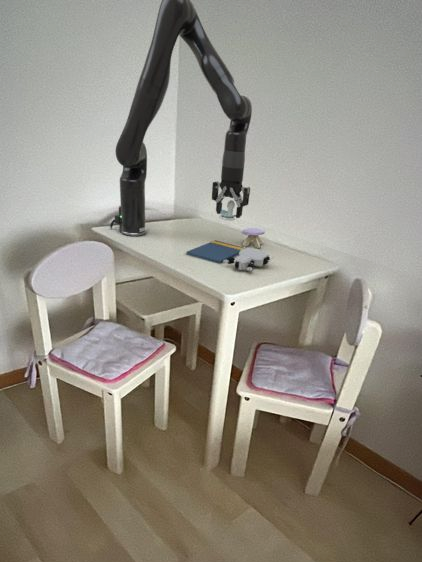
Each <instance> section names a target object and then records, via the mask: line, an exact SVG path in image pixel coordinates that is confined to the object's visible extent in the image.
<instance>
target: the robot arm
mask: <svg viewBox="0 0 422 562" xmlns="http://www.w3.org/2000/svg"><path fill="white" fill-rule="evenodd" d="M155 22H156V23H155V26H154V30H153V34H152V39H151V42H150V46H149V49H148V51H147V54H146V58H145V60H144V63H143V67H142V70H141V73H140V76H139V79H138V82H137V85H136V88H135V92H134V95H133V98H132V102H131V104H130V109H129V112H128V116H127V119H126V122H125V124H124V126H123V129H122V131H121V134H120V135H119V138H118V141H117V142H116V145H115V159H116V161H117V162H118V163H119V165H121V166H122V171H121V175H120V177H119V198H120V199H119V201H120V205H119V206H118V214H116V215H114V219H112V221H111V222H110V225H109V228H110V229H112V228H113V225H114V224H116V225H119V227H118V228H119V232H120V233H121V234H122V235H126V236H129V237H141V236H144V235H146V231H147V230H146V180H147V175H148V174H147V173H148V172H147V171H148V153H147V147H146V144H145V142H144V139H145V137H146V133H147V131H148V129H149V127H150V126H151V124H152V123H153V121H154V119H155V118H156V116H157V114H158V113H159V111H160V109H161V107H162V104H163V102H164V100H165V97H166V94H167V91H168V88H169V85H170V78H171V64H172V56H173V52H174V48H175V45H176V43H177V41H178V38H179V37H180V38H181V39H182V40H183V41H184V43H185V44H186V45H187V46H188V47H189V49H190V50H191V52H192V54H193V55H194V58H195V59H196V62H197V64H198V67H199V69H200V72H201V73H202V75H203V77H204V79H205V80H206V82H207V84H208V85H209V86H210V88H211V90H212V91H213V93H214V94H215V95H216V98H217V100H218V103H219V105H220V108H221V109H222V111H223V113H224V115H225V116H226V117H227V119H229V120H230V121H229V127H228V130H226V132H225V136H224V144H223V145H224V147H223V153H222V160H221V174H220V182H219V181H218V180H217V181H213V182H212V186H211V187H212V188H211V200H212V201H215V202H216V205H215V212H216V214H218V215H222V214H221V210H223V200H224V199H225V198H230V199H233V201H234V202H235V205H236V211H235V215H236V217H235V218H236V219H240V218H241V217H242V215H243V208H244V207H246V206H248V205H249V202H250V194H251V188H250V186H247V187H245V186H243V180H244V172H245V163H246V146H247V145H246V144H247V135H248V131H249V128H250V124H251V120H252V112H253V107H252V102H251V100H250V99H249V97H248V96H245V95H241V94H240V92H239V90H238V88H237V87H236V85H235V79H234V77H233V75H232V74H231V72H230V70H229V68H228V66H226V64H225V62H224V60H223V59H222V58H221V56H220V54H219V53H218V51H217V50H216V48H215V47H214V45H213V44H212V42H211V40H210V38H209V37H208V35H207V32H206V31H205V29H204V26H203V23H202V22H201V19H200V17H199V14H198V13H197V10H196V8H195V6H194V3H193V2H192V1H191V0H161V2H160V4H159V8H158V13H157V17H156V20H155ZM219 190H221V191H219ZM219 192H220V193H219ZM241 193H242V194H241Z"/></svg>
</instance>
